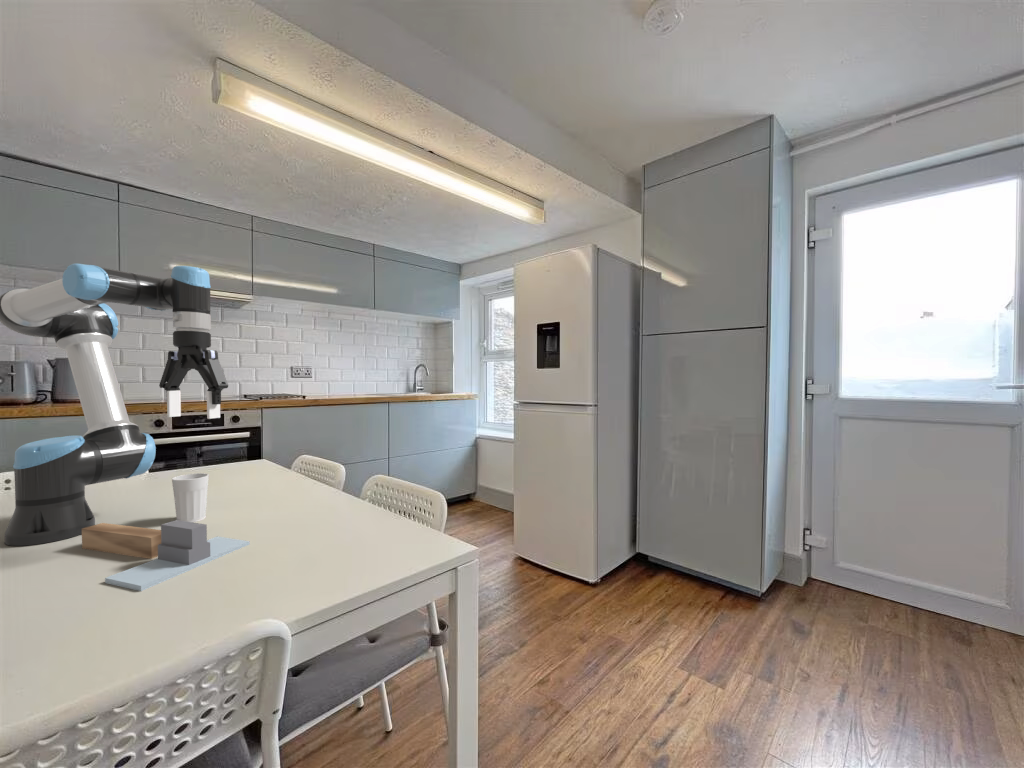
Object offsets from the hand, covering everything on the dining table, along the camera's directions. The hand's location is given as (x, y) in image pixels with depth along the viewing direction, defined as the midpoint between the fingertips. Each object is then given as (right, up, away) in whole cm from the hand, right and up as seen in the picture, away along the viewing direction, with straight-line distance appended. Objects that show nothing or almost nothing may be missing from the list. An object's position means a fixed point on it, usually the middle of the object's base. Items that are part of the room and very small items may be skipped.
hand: (193, 417), depth 107 cm
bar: (-7, -29, -10) cm, 32 cm away
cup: (-8, -29, +9) cm, 31 cm away
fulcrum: (+10, -29, -16) cm, 35 cm away
